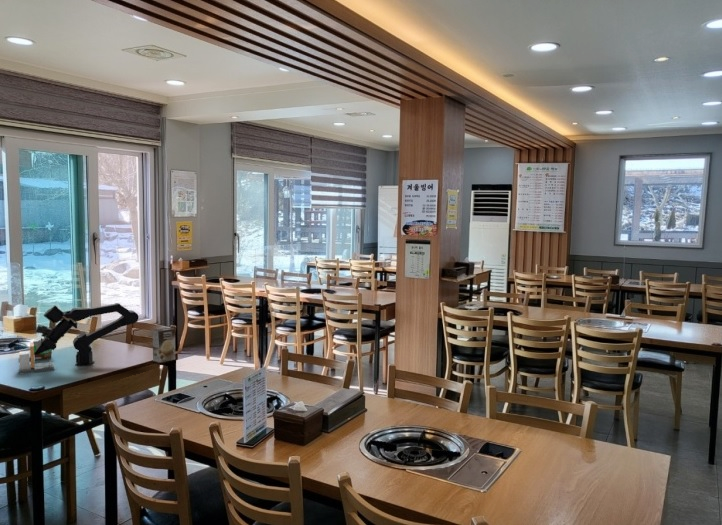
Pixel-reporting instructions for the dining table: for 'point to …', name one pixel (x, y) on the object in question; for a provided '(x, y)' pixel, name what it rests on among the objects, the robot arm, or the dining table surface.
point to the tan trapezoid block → (31, 355)
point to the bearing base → (39, 367)
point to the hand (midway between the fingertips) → (34, 354)
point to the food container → (44, 354)
